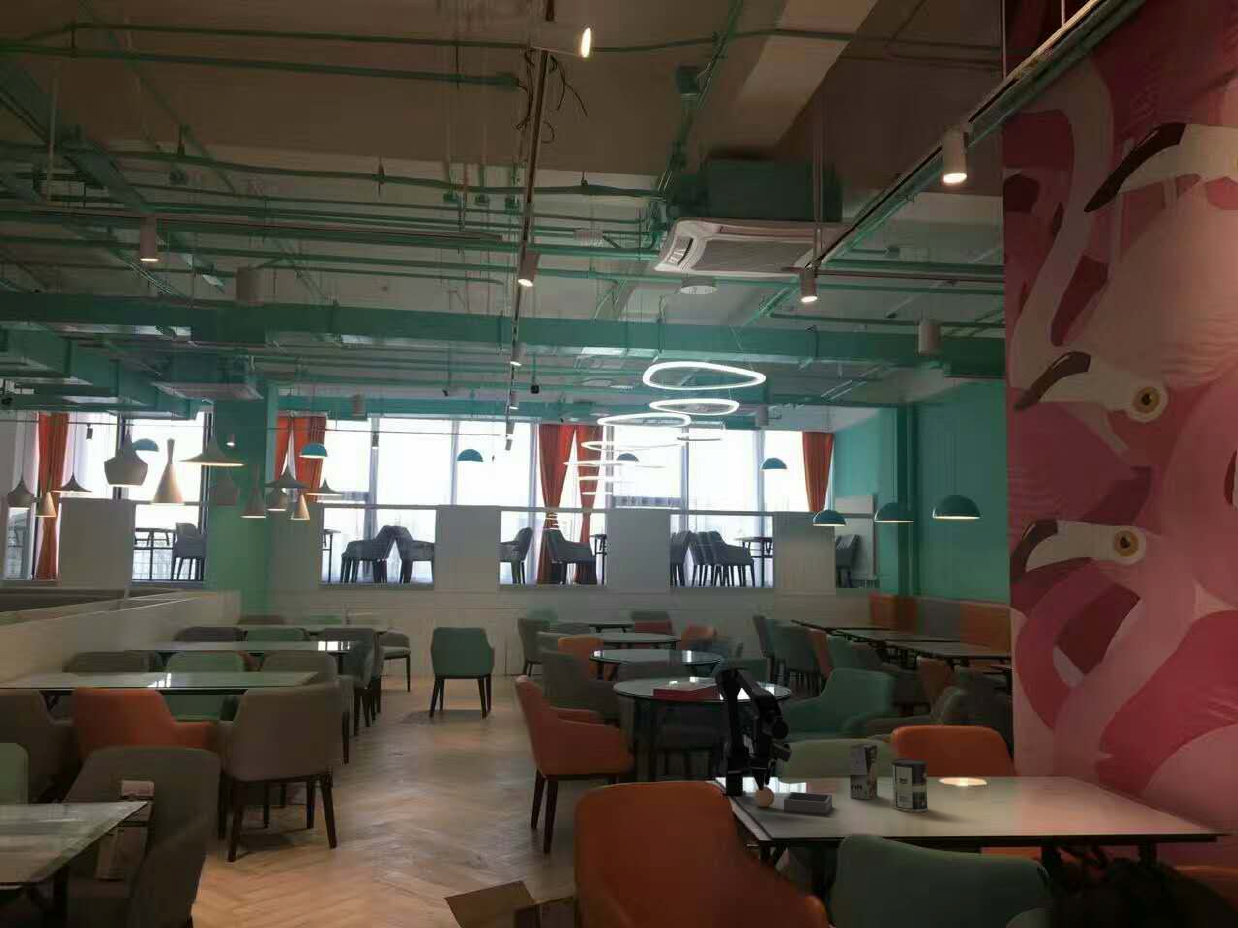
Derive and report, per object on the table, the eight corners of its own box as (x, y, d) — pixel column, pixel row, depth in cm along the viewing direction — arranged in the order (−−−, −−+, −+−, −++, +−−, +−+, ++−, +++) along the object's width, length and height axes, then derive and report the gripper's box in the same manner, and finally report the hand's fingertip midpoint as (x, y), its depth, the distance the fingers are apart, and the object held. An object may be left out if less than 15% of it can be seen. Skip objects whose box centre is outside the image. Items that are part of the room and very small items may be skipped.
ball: (756, 804, 311) (756, 784, 312) (776, 805, 309) (775, 785, 310) (752, 808, 306) (752, 787, 306) (772, 809, 304) (772, 789, 304)
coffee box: (869, 800, 319) (868, 748, 321) (850, 797, 323) (849, 746, 325) (878, 795, 327) (877, 744, 329) (858, 793, 330) (858, 742, 332)
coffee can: (926, 805, 312) (924, 759, 314) (929, 812, 302) (928, 764, 303) (891, 804, 314) (890, 757, 316) (893, 811, 304) (892, 762, 306)
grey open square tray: (791, 803, 313) (790, 791, 313) (832, 806, 309) (831, 794, 309) (783, 811, 301) (783, 799, 302) (826, 814, 297) (826, 802, 298)
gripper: (784, 740, 299) (785, 795, 297) (795, 732, 316) (795, 784, 314) (747, 738, 302) (747, 792, 301) (760, 730, 320) (760, 781, 318)
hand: (764, 787), depth 308 cm, fingers open, 9 cm apart
